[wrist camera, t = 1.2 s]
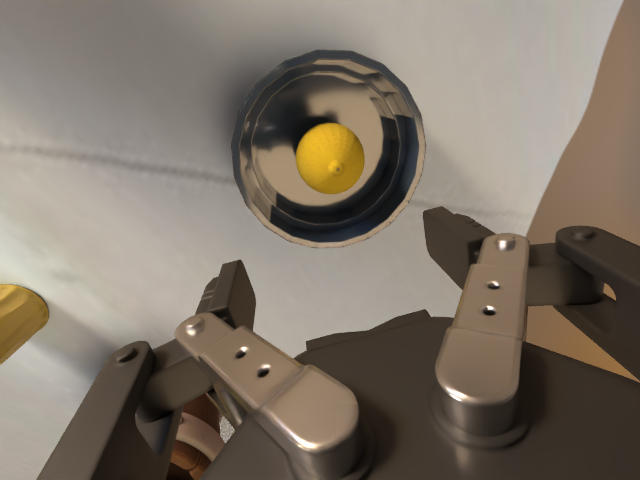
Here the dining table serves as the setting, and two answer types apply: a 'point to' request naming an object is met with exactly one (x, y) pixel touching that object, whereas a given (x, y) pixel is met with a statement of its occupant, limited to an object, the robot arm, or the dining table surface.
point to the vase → (19, 318)
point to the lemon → (330, 158)
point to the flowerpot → (196, 440)
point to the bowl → (317, 108)
